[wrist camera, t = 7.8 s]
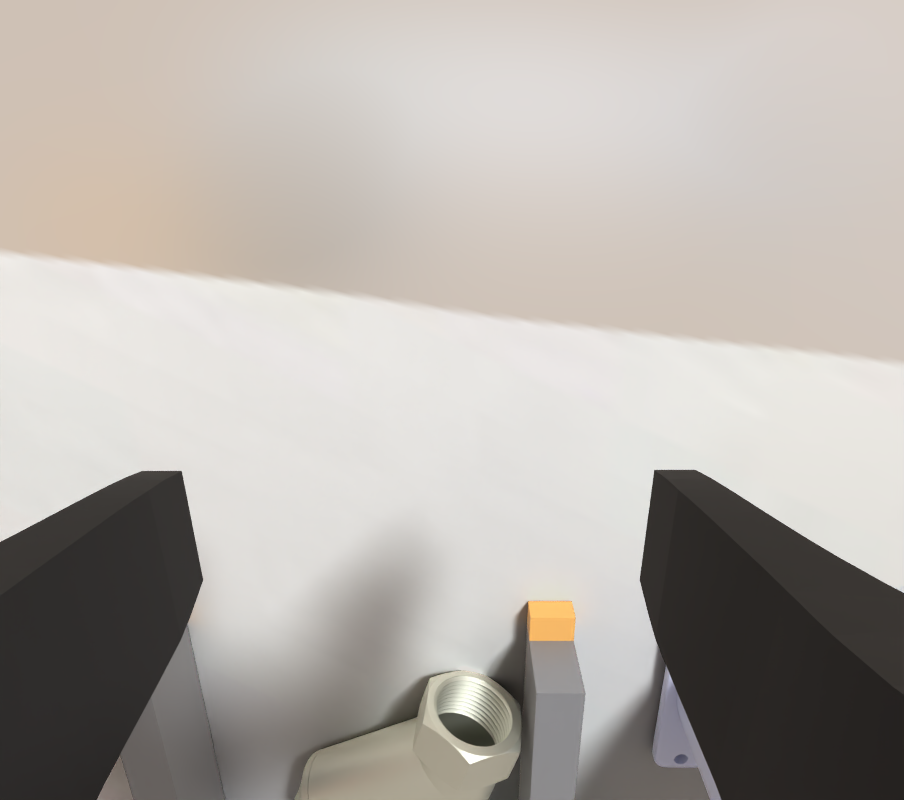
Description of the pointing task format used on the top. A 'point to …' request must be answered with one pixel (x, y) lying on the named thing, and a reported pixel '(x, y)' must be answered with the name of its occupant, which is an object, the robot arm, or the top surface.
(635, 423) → the top surface
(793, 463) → the top surface
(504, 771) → the pipe fitting
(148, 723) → the bracket
